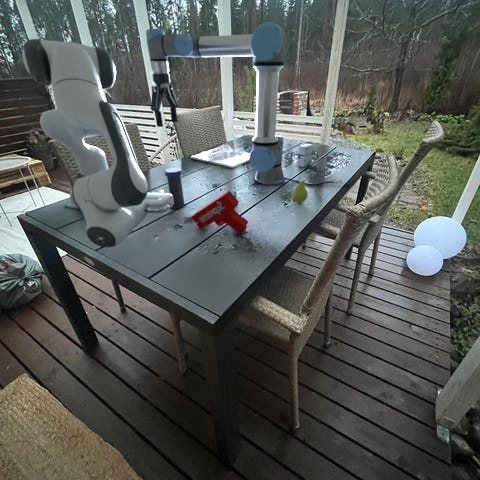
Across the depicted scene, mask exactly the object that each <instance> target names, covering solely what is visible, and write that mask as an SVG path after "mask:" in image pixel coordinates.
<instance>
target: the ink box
mask: <svg viewBox="0 0 480 480" xmlns="http://www.w3.org/2000/svg"><path fill="white" fill-rule="evenodd" d="M313 148H314V144H312V143H311V144H310V143H304V144H300V145H298V149H297V157H296V158H297V159H296V166H298V167H300V168H304V167H306V166H309V165H311V164H312V156H313ZM310 162H311V163H310ZM308 163H309V164H308ZM298 164H299V165H298ZM305 164H307V165H305ZM301 165H304V166H301Z"/></svg>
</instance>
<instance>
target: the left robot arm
mask: <svg viewBox="0 0 480 480" xmlns="http://www.w3.org/2000/svg"><path fill="white" fill-rule="evenodd" d="M22 62H23V64H24V65H23V66H24V67H25V69H26V71H27V72H28V74H29V75H30V77H31V79H33V80H34V81H35V82H37V83H38V84H40V85H41V84H42V85H44V86H48V87H50V86H51V88H52V93H53V98H54V102H55V106H56V108H54V109H49V110H46V111H43V112H42V113H41V115H40V118H39V124H40V128H41V130H42V131H43V133H44V134H45V135H46V136H47V137H49V139H51V140H53V141H55V142H56V143H59V144H61V145H62V146H64V147H65V148H66V149H67V150H68V151H69V152H70V153H71V154H72V156H73V158H74V160H75V163H76V165H77V168H78V170H79V173H78V174H77V175H75V176H74V177H76V180H75V181H74V182H73V185H72V188H71V189H70V192H69V197H70V200H69V201H68V202H67V203H66V207H67V208H69V209H70V208H72V209H75V210H79V211H80V212H81V213H82V214H83V218H84V220H85V234H86V237H87V238H88V239H89V240H90V242H91V243H93V244H95V245H97V246H98V247H102V248H113V247H116V246H118V245H119V244H121V243H123V242H124V241H125V240H126V239H127V238H128V237H129V236H130V235H131V233H132V232H133V231H134V229H135V228H137V226H139V225H140V224H141V223H142V222H143V220H145V218H146V217H147V215H148V214H163V213H166V212H168V211H169V210H170V209H171V208H172V206H173V204H174V201H173V196H172V195H171V194H170V193H166V190H165V189H160V190H159V191H158V192H149V183H148V179H147V177H146V175H145V173H144V172H143V170H142V168H141V166H140V164H139V162H138V159H137V157H136V153H135V151H134V148H133V146H132V142H131V140H130V136H129V134H128V132H127V130H126V126H125V123H124V121H123V119H122V118H121V115H120V113H119V112H118V110H117V109H116V107H115V106H114V105H113V104H112V103H110V102H109V101H106V99H105V96H104V92H103V90H108V89H111V88H113V86H114V85H115V81H116V75H117V70H116V66H115V63H114V60H113V58H112V56H111V54H110V53H109V52H108V50H106V49H103V48H101V47H99V46H94V47H93V46H90V45H86V44H83V43H78V42H72V41H68V42H67V41H59V40H41V39H40V38H31V39H27V40H26V41H25V42H24V43H23V48H22ZM103 136H104V139H105V143H106V144H107V147H108V150H109V152H110V153H109V154H110V156H111V159H112V165H111V167H110V168H109V165H108V161H107V158H106V157H107V156H106V154H105V152H104V151H103V150H102V149H101V148H99V147H97V146H93V145H90V144H87V143H85V139H88V138H94V137H103Z"/></svg>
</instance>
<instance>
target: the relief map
mask: <svg viewBox="0 0 480 480" xmlns="http://www.w3.org/2000/svg"><path fill="white" fill-rule="evenodd" d="M249 156H250V152H248V151H246V150H245V149H244V148H243V147H240V148H237V149H234V148H232V147H231V146H230V145H229V144H224V143H223V144H222V145H220V146H218V147H215V148H212V149H209V150H205V151H201V152H200V153H198V154H194V155H191V156H190V158H191V159H192V160H197V161H201V162H205V163H209V164H210V163H211V164H214V165H218V166H221V167H222V166H223V167H228V168H231V169H233V168H234V169H235V168H236V167H238V166H241V165H242V164H246V163H248V162H250V160H249Z"/></svg>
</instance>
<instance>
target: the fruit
mask: <svg viewBox="0 0 480 480" xmlns="http://www.w3.org/2000/svg"><path fill="white" fill-rule="evenodd" d="M310 177H311V175H310V174H309V175H308V176H307V177H305V179H302V180H301V181H299V182H300V183H298V184H297V185H296V186H295V187H294V188H293V190H292V191H291V198H292V200H293V201H294V202H295V203H297V204H301V203H304V202H305V201H306V200H307V198H308V196H309V195H308V190H307V189H306V185H305V183H306V180H308V179H309V178H310Z"/></svg>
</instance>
